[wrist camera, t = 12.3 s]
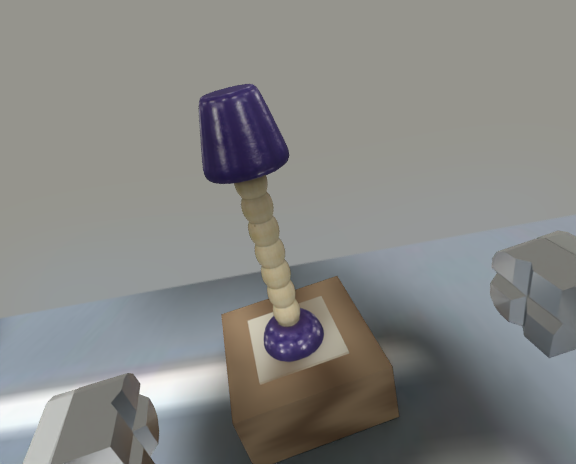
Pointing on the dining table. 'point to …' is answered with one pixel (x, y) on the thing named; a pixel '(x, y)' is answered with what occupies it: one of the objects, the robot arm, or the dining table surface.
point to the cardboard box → (306, 378)
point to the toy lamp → (257, 204)
